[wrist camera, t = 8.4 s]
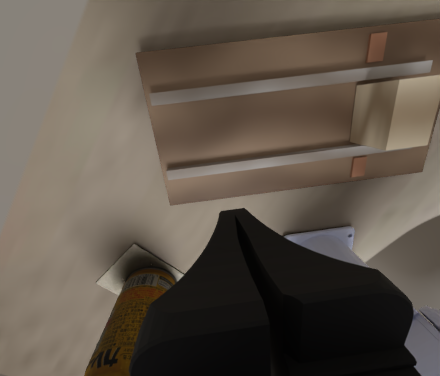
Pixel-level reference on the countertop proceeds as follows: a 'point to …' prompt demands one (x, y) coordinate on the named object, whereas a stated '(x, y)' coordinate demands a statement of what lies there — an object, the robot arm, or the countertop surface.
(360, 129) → the fader tab
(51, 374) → the countertop surface
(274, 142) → the console
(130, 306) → the condiment
